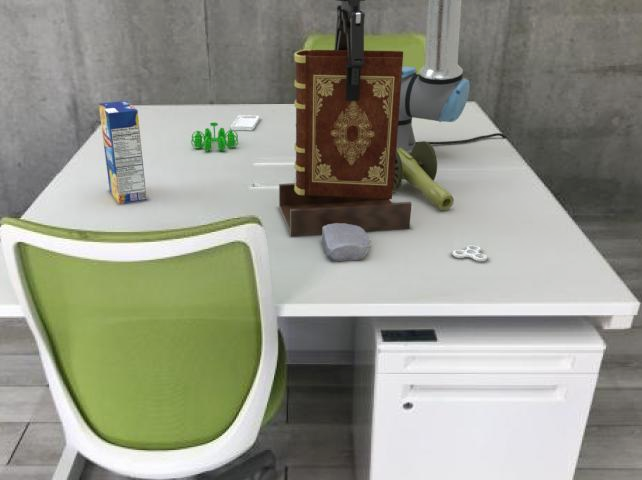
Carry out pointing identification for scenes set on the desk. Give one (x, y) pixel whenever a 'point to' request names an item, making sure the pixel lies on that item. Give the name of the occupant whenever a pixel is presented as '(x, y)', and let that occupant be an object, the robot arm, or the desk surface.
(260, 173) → the desk surface
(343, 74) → the decorative book
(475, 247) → the fidget spinner
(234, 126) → the phone case
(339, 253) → the stone block
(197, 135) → the chandelier
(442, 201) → the cannon
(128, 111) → the beverage box
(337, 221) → the book rack
